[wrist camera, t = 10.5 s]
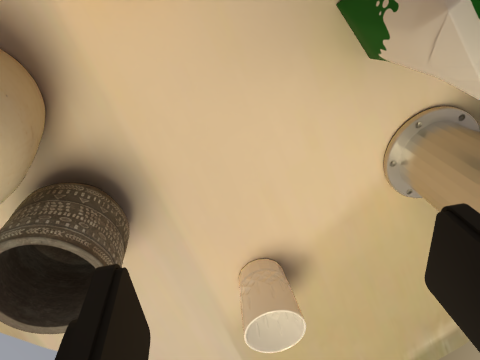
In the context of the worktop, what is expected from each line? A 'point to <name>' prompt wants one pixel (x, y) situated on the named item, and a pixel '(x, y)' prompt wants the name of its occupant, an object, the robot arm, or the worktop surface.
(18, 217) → the planter
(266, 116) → the worktop surface
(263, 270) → the white cup
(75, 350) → the robot arm
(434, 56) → the milk carton
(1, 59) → the jug
